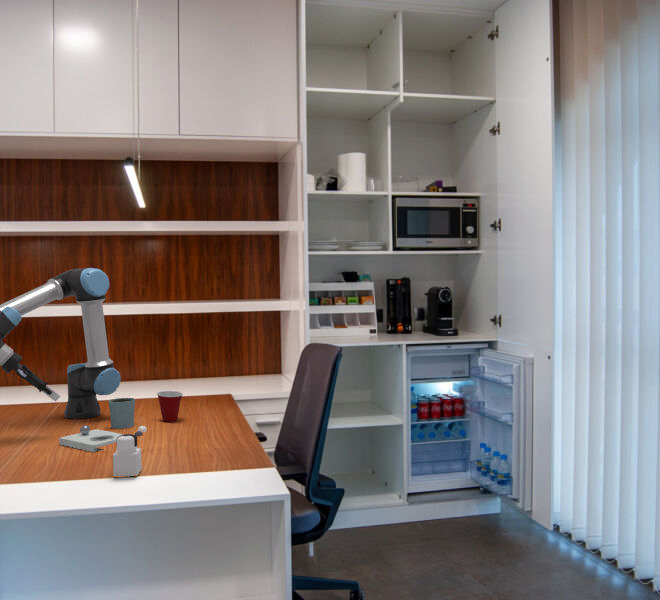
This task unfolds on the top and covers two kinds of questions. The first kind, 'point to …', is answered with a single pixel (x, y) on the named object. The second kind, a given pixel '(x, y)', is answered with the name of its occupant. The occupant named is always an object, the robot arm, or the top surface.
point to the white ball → (142, 429)
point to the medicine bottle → (127, 456)
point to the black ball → (138, 433)
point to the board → (90, 440)
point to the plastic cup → (169, 405)
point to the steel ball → (85, 430)
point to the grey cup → (122, 412)
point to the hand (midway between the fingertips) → (58, 398)
